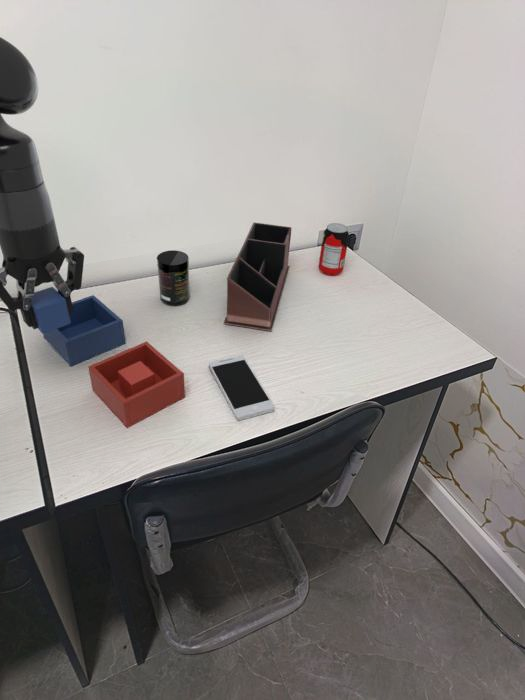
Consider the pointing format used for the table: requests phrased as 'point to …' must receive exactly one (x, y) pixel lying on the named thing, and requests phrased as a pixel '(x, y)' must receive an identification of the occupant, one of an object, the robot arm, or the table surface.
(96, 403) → the table surface
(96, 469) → the table surface
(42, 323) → the blue block
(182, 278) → the supplement container
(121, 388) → the red block
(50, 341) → the blue bin
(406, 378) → the table surface
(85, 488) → the table surface
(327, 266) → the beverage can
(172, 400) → the red bin
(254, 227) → the desk organizer
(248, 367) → the smartphone
